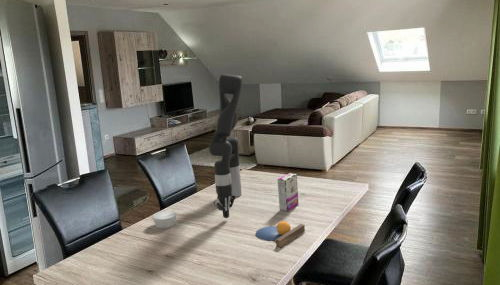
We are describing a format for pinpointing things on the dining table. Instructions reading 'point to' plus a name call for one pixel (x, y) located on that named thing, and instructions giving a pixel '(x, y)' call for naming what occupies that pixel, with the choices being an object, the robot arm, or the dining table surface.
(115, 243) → the dining table surface
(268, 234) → the blue disc
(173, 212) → the ramekin
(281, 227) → the ball
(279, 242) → the wooden stick
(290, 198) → the candy bar box
